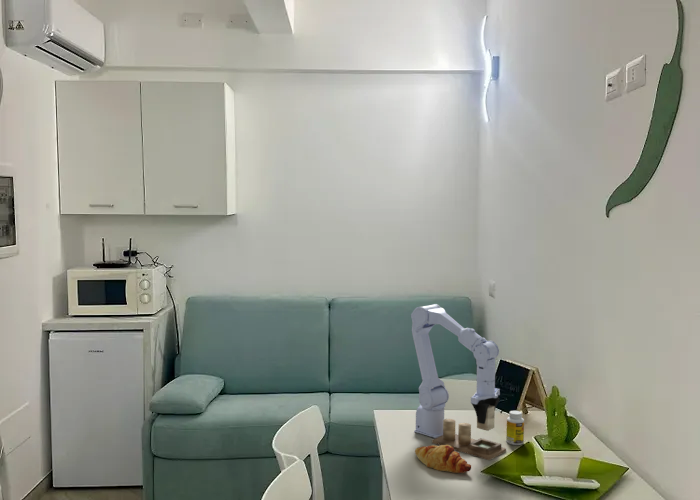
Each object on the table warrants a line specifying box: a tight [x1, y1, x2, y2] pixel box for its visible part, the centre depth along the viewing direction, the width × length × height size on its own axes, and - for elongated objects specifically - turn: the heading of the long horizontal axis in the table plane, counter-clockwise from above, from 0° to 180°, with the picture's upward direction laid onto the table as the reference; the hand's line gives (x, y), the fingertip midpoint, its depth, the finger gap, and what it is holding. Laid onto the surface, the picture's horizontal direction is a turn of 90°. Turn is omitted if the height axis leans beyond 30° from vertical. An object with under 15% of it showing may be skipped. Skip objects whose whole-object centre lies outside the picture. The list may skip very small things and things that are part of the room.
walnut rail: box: [431, 418, 507, 461], centre depth 211 cm, size 22×10×7 cm, turn 47°
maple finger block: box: [476, 405, 496, 432], centre depth 209 cm, size 4×4×7 cm
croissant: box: [414, 444, 472, 474], centre depth 196 cm, size 21×10×8 cm, turn 44°
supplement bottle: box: [505, 410, 525, 446], centre depth 215 cm, size 6×6×10 cm
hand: (485, 421), depth 209 cm, fingers closed on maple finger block, 4 cm apart
